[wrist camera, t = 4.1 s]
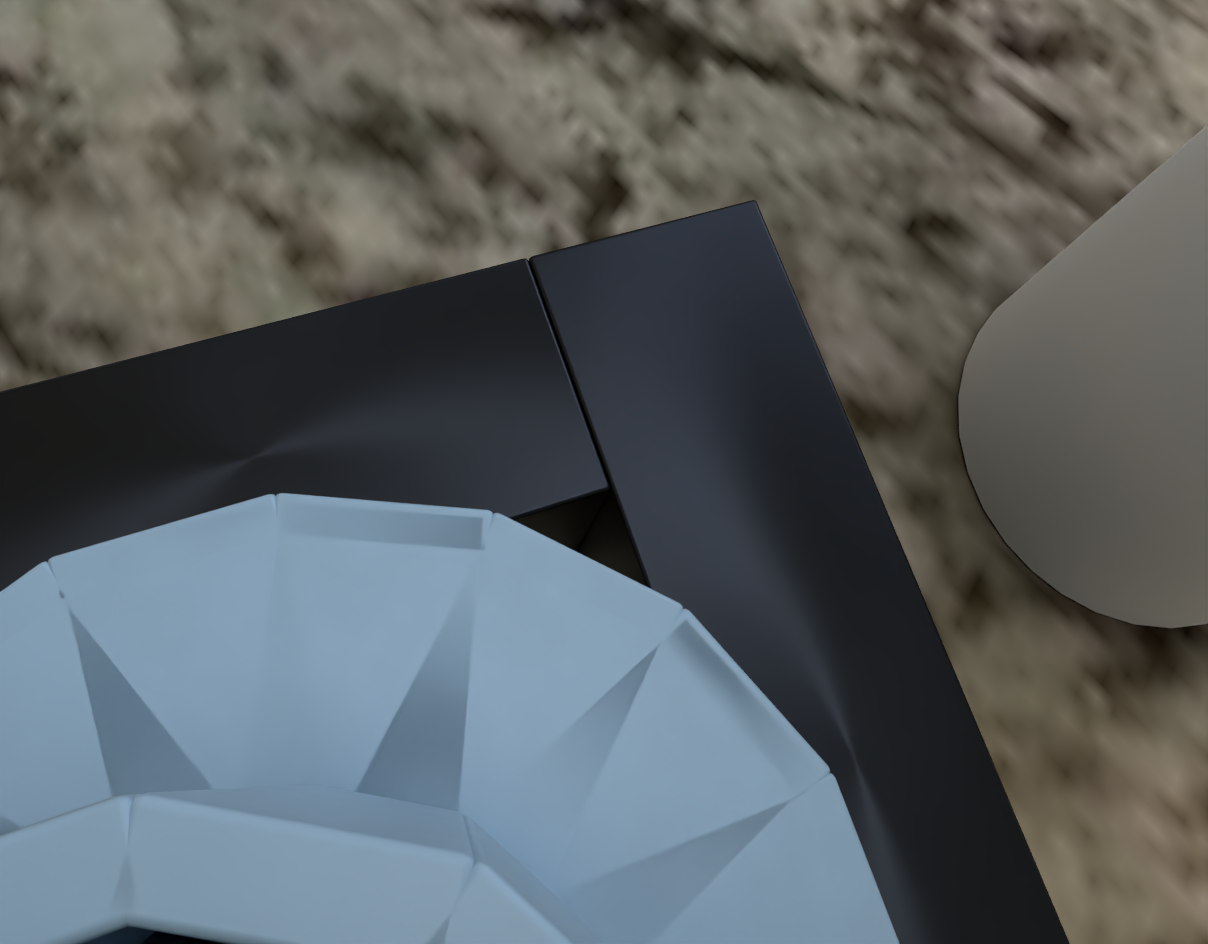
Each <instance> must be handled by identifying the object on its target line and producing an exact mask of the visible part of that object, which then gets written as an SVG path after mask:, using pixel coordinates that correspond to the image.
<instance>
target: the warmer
mask: <svg viewBox="0 0 1208 944" xmlns="http://www.w3.org/2000/svg"><path fill="white" fill-rule="evenodd" d="M280 493H288V494H300V495H312V496H324V497H336V498H348V499H361V500H373V501H385V502H397V503H409V504H421V505H433V506H445V507H457V508H469V509H481V510H489V511H491V512H492V513H493V514H494V513H500V514H502V515H504V516H506V517H508V518H510V519H512V520H514V521H516V522H518V523H520V524H522V525H524V526H526V527H528V528H530V529H532V530H534V531H536V532H538V533H540V534H542V535H544V536H546V537H548V538H550V539H552V540H554V541H556V542H558V543H560V544H562V545H564V546H566V547H568V548H570V549H572V550H574V551H576V552H578V553H580V554H582V555H584V556H586V557H588V558H590V559H592V560H594V561H596V562H598V563H600V564H602V565H604V566H606V567H608V568H610V569H612V570H614V571H616V572H618V573H620V574H622V575H624V576H626V577H628V578H630V579H632V580H634V581H636V582H638V583H640V584H642V585H644V586H646V587H648V588H650V589H652V590H654V591H656V592H658V593H660V594H662V595H664V596H666V597H668V598H670V599H672V600H674V601H676V602H678V603H680V604H681V605H682V606H683V609H687V610H689V611H690V612H691V613H692V614H693V615H694V616H695V617H696V619H697V620H698V621H699V622H700V623H701V624H702V625H703V626H704V628H705V629H706V630H707V631H708V632H709V633H710V634H711V635H712V636H713V638H714V639H715V640H716V641H717V642H718V643H719V644H720V645H721V647H722V648H723V649H724V650H725V651H726V652H727V653H728V654H729V656H730V657H731V658H732V659H733V660H734V661H735V662H736V663H737V664H738V666H739V667H740V668H741V669H742V670H743V671H744V672H745V673H746V675H747V676H748V677H749V678H750V679H751V680H752V681H753V682H754V684H755V685H756V686H757V687H758V688H759V689H760V690H761V691H762V692H763V694H764V695H765V696H766V697H767V698H768V699H769V700H770V701H771V703H772V704H773V705H774V706H775V707H776V708H777V709H778V710H779V711H780V713H781V714H782V715H783V716H784V717H785V718H786V719H787V720H788V722H789V723H790V724H791V725H792V726H793V727H794V728H795V729H796V731H797V732H798V733H799V734H800V735H801V736H802V737H803V738H804V739H805V741H806V742H807V743H808V744H809V745H810V746H811V747H812V748H813V750H814V751H815V752H816V753H817V754H818V755H819V756H820V757H821V759H822V760H823V761H824V762H825V763H826V764H827V765H828V767H829V769H830V772H829V773H832V774H833V775H834V776H835V778H836V781H837V784H838V786H839V789H840V791H841V794H842V796H843V799H844V802H845V804H846V807H847V809H848V812H849V815H850V817H851V820H852V822H853V825H854V827H855V830H856V833H857V835H858V838H859V840H860V843H861V845H862V848H863V851H864V853H865V856H866V858H867V861H868V864H869V866H870V869H871V871H872V874H873V876H874V879H875V882H876V884H877V887H878V889H879V892H880V895H881V897H882V900H883V902H884V905H885V907H886V910H887V913H888V915H889V918H890V920H891V923H892V926H893V928H894V931H895V933H896V936H897V938H898V941H899V944H1070V943H1069V941H1068V939H1067V936H1066V934H1065V932H1064V929H1063V927H1062V925H1061V922H1060V920H1059V917H1058V915H1057V913H1056V910H1055V908H1054V906H1053V903H1052V901H1051V898H1050V896H1049V894H1048V891H1047V889H1046V887H1045V884H1044V882H1043V880H1042V877H1041V875H1040V872H1039V870H1038V868H1037V865H1036V863H1035V861H1034V858H1033V856H1032V853H1031V851H1030V849H1029V846H1028V844H1027V842H1026V839H1025V837H1024V835H1023V832H1022V830H1021V827H1020V825H1019V823H1018V820H1017V818H1016V816H1015V813H1014V811H1013V808H1012V806H1011V804H1010V801H1009V799H1008V797H1007V794H1006V792H1005V790H1004V787H1003V785H1002V782H1001V780H1000V778H999V775H998V773H997V771H996V768H995V766H994V763H993V761H992V759H991V756H990V754H989V752H988V749H987V747H986V745H985V742H984V740H983V737H982V735H981V733H980V730H979V728H978V726H977V723H976V721H975V719H974V716H973V714H972V711H971V709H970V707H969V704H968V702H967V700H966V697H965V695H964V692H963V690H962V688H961V685H960V683H959V681H958V678H957V676H956V674H955V671H954V669H953V666H952V664H951V662H950V659H949V657H948V655H947V652H946V650H945V647H944V645H943V643H942V640H941V638H940V636H939V633H938V631H937V629H936V626H935V624H934V621H933V619H932V617H931V614H930V612H929V610H928V607H927V605H926V602H925V600H924V598H923V595H922V593H921V591H920V588H919V586H918V584H917V581H916V579H915V576H914V574H913V572H912V569H911V567H910V565H909V562H908V560H907V557H906V555H905V553H904V550H903V548H902V546H901V543H900V541H899V539H898V536H897V534H896V531H895V529H894V527H893V524H892V522H891V520H890V517H889V515H888V512H887V510H886V508H885V505H884V503H883V501H882V498H881V496H880V494H879V491H878V489H877V486H876V484H875V482H874V479H873V477H872V475H871V472H870V470H869V467H868V465H867V463H866V460H865V458H864V456H863V453H862V451H861V449H860V446H859V444H858V441H857V439H856V437H855V434H854V432H853V430H852V427H851V425H850V423H849V420H848V418H847V415H846V413H845V411H844V408H843V406H842V404H841V401H840V399H839V396H838V394H837V392H836V389H835V387H834V385H833V382H832V380H831V378H830V375H829V373H828V370H827V368H826V366H825V363H824V361H823V359H822V356H821V354H820V351H819V349H818V347H817V344H816V342H815V340H814V337H813V335H812V333H811V330H810V328H809V325H808V323H807V321H806V318H805V316H804V314H803V311H802V309H801V306H800V304H799V302H798V299H797V297H796V295H795V292H794V290H793V288H792V285H791V283H790V280H789V278H788V276H787V273H786V271H785V269H784V266H783V264H782V261H781V259H780V257H779V254H778V252H777V250H776V247H775V245H774V243H773V240H772V238H771V235H770V233H769V231H768V228H767V226H766V224H765V221H764V219H763V216H762V214H761V212H760V209H759V207H758V205H757V202H756V201H755V200H752V201H748V202H744V203H740V204H736V205H732V206H728V207H724V208H720V209H717V210H713V211H709V212H705V213H701V214H697V215H693V216H689V217H685V218H681V219H677V220H673V221H669V222H665V223H662V224H658V225H654V226H650V227H646V228H642V229H638V230H634V231H630V232H626V233H622V234H618V235H614V236H610V237H607V238H603V239H599V240H595V241H591V242H587V243H583V244H579V245H575V246H571V247H567V248H563V249H559V250H555V251H552V252H548V253H544V254H540V255H536V256H532V257H531V258H529V261H528V260H527V259H520V260H516V261H512V262H508V263H504V264H501V265H497V266H493V267H489V268H485V269H481V270H477V271H473V272H469V273H465V274H461V275H457V276H453V277H449V278H446V279H442V280H438V281H434V282H430V283H426V284H422V285H418V286H414V287H410V288H406V289H402V290H398V291H394V292H391V293H387V294H383V295H379V296H375V297H371V298H367V299H363V300H359V301H355V302H351V303H347V304H343V305H339V306H336V307H332V308H328V309H324V310H320V311H316V312H312V313H308V314H304V315H300V316H296V317H292V318H288V319H284V320H281V321H277V322H273V323H269V324H265V325H261V326H257V327H253V328H249V329H245V330H241V331H237V332H233V333H229V334H226V335H222V336H218V337H214V338H210V339H206V340H202V341H198V342H194V343H190V344H186V345H182V346H178V347H174V348H171V349H167V350H163V351H159V352H155V353H151V354H147V355H143V356H139V357H135V358H131V359H127V360H123V361H119V362H116V363H112V364H108V365H104V366H100V367H96V368H92V369H88V370H84V371H80V372H76V373H72V374H68V375H64V376H61V377H57V378H53V379H49V380H45V381H41V382H37V383H33V384H29V385H25V386H21V387H17V388H13V389H9V390H6V391H2V392H0V592H1V591H2V590H4V589H5V588H7V587H8V586H9V585H11V584H12V583H14V582H15V581H16V580H18V579H19V578H20V577H22V576H23V575H25V574H26V573H27V572H29V571H30V570H32V569H33V568H34V567H36V566H37V565H39V564H40V563H42V562H48V560H49V559H50V558H52V557H54V556H58V555H61V554H64V553H68V552H71V551H75V550H78V549H82V548H85V547H89V546H92V545H96V544H99V543H102V542H106V541H109V540H113V539H116V538H120V537H123V536H127V535H130V534H133V533H137V532H140V531H144V530H147V529H151V528H154V527H158V526H161V525H165V524H168V523H171V522H175V521H178V520H182V519H185V518H189V517H192V516H196V515H199V514H203V513H206V512H209V511H213V510H216V509H220V508H223V507H227V506H230V505H234V504H237V503H241V502H244V501H247V500H251V499H254V498H258V497H261V496H265V495H268V494H272V495H275V496H276V495H277V494H280Z"/></svg>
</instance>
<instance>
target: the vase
mask: <svg viewBox="0 0 1208 944" xmlns="http://www.w3.org/2000/svg"><path fill="white" fill-rule="evenodd" d="M829 772H830V769H829V767H828V765H827V764H826V763H825V762H824V761H823V760H822V759H821V757H820V756H819V755H818V754H817V753H816V752H815V751H814V750H813V748H812V747H811V746H810V745H809V744H808V743H807V742H806V741H805V739H804V738H803V737H802V736H801V735H800V734H799V733H798V732H797V731H796V729H795V728H794V727H793V726H792V725H791V724H790V723H789V722H788V720H787V719H786V718H785V717H784V716H783V715H782V714H781V713H780V711H779V710H778V709H777V708H776V707H775V706H774V705H773V704H772V703H771V701H770V700H769V699H768V698H767V697H766V696H765V695H764V694H763V692H762V691H761V690H760V689H759V688H758V687H757V686H756V685H755V684H754V682H753V681H752V680H751V679H750V678H749V677H748V676H747V675H746V673H745V672H744V671H743V670H742V669H741V668H740V667H739V666H738V664H737V663H736V662H735V661H734V660H733V659H732V658H731V657H730V656H729V654H728V653H727V652H726V651H725V650H724V649H723V648H722V647H721V645H720V644H719V643H718V642H717V641H716V640H715V639H714V638H713V636H712V635H711V634H710V633H709V632H708V631H707V630H706V629H705V628H704V626H703V625H702V624H701V623H700V622H699V621H698V620H697V619H696V617H695V616H694V615H693V614H692V613H691V612H690V611H689V610H687V609H683V606H682V605H681V604H680V603H678V602H676V601H674V600H672V599H670V598H668V597H666V596H664V595H662V594H660V593H658V592H656V591H654V590H652V589H650V588H648V587H646V586H644V585H642V584H640V583H638V582H636V581H634V580H632V579H630V578H628V577H626V576H624V575H622V574H620V573H618V572H616V571H614V570H612V569H610V568H608V567H606V566H604V565H602V564H600V563H598V562H596V561H594V560H592V559H590V558H588V557H586V556H584V555H582V554H580V553H578V552H576V551H574V550H572V549H570V548H568V547H566V546H564V545H562V544H560V543H558V542H556V541H554V540H552V539H550V538H548V537H546V536H544V535H542V534H540V533H538V532H536V531H534V530H532V529H530V528H528V527H526V526H524V525H522V524H520V523H518V522H516V521H514V520H512V519H510V518H508V517H506V516H504V515H502V514H500V513H494V514H493V513H492V512H491V511H489V510H481V509H469V508H457V507H445V506H433V505H421V504H409V503H397V502H385V501H373V500H361V499H348V498H336V497H324V496H312V495H300V494H288V493H280V494H277V495H276V496H275V495H272V494H268V495H265V496H261V497H258V498H254V499H251V500H247V501H244V502H241V503H237V504H234V505H230V506H227V507H223V508H220V509H216V510H213V511H209V512H206V513H203V514H199V515H196V516H192V517H189V518H185V519H182V520H178V521H175V522H171V523H168V524H165V525H161V526H158V527H154V528H151V529H147V530H144V531H140V532H137V533H133V534H130V535H127V536H123V537H120V538H116V539H113V540H109V541H106V542H102V543H99V544H96V545H92V546H89V547H85V548H82V549H78V550H75V551H71V552H68V553H64V554H61V555H58V556H54V557H52V558H50V559H49V560H48V562H42V563H40V564H39V565H37V566H36V567H34V568H33V569H32V570H30V571H29V572H27V573H26V574H25V575H23V576H22V577H20V578H19V579H18V580H16V581H15V582H14V583H12V584H11V585H9V586H8V587H7V588H5V589H4V590H2V591H1V592H0V944H899V941H898V938H897V936H896V933H895V931H894V928H893V926H892V923H891V920H890V918H889V915H888V913H887V910H886V907H885V905H884V902H883V900H882V897H881V895H880V892H879V889H878V887H877V884H876V882H875V879H874V876H873V874H872V871H871V869H870V866H869V864H868V861H867V858H866V856H865V853H864V851H863V848H862V845H861V843H860V840H859V838H858V835H857V833H856V830H855V827H854V825H853V822H852V820H851V817H850V815H849V812H848V809H847V807H846V804H845V802H844V799H843V796H842V794H841V791H840V789H839V786H838V784H837V781H836V778H835V776H834V775H833V774H832V773H829Z"/></svg>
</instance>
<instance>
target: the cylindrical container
mask: <svg viewBox="0 0 1208 944" xmlns="http://www.w3.org/2000/svg"><path fill="white" fill-rule="evenodd" d="M958 409H959V436H960V441H961V445H962V449H963V454H964V458H965V463H966V467H967V472H968V474H969V477H970V479H971V481H972V484H973V486H974V488H975V490H976V493H977V495H978V497H979V500H980V502H981V504H982V507H983V509H984V511H985V512H986V514H987V515H988V517H989V518H990V520H991V521H992V523H993V524H994V526H995V527H996V529H997V530H998V532H999V533H1000V535H1001V536H1002V538H1003V539H1004V541H1005V542H1006V544H1007V545H1008V546H1009V547H1010V548H1011V549H1012V550H1013V551H1014V552H1015V553H1016V554H1017V555H1018V556H1019V558H1020V559H1021V560H1022V561H1023V562H1024V563H1025V564H1026V565H1027V566H1028V567H1029V568H1030V569H1031V570H1032V571H1033V572H1034V573H1035V574H1037V575H1038V576H1039V577H1041V578H1042V579H1043V580H1044V581H1046V582H1047V583H1048V584H1049V585H1051V586H1052V587H1053V588H1055V589H1056V590H1057V591H1058V592H1060V593H1061V594H1063V595H1065V596H1066V597H1068V598H1070V599H1072V600H1074V601H1076V602H1078V603H1079V604H1081V605H1083V606H1085V607H1087V608H1089V609H1091V610H1092V611H1094V612H1096V613H1100V614H1103V615H1106V616H1109V617H1112V618H1115V619H1118V620H1121V621H1125V622H1128V623H1131V624H1136V625H1145V626H1155V627H1165V628H1178V627H1186V626H1194V625H1202V624H1208V125H1207V126H1205V127H1204V128H1203V129H1202V130H1201V131H1200V132H1198V133H1197V134H1196V135H1195V136H1194V137H1193V138H1192V139H1190V140H1189V141H1188V142H1187V143H1186V144H1185V145H1184V146H1182V147H1181V148H1180V149H1179V150H1178V151H1177V152H1175V153H1174V154H1173V155H1172V156H1171V157H1170V158H1169V159H1167V160H1166V161H1165V162H1164V163H1163V164H1162V165H1161V166H1159V167H1158V168H1157V169H1156V170H1155V171H1154V172H1152V173H1151V174H1150V175H1149V176H1148V177H1147V178H1146V179H1144V180H1143V181H1142V182H1141V183H1140V184H1139V185H1138V186H1136V187H1135V188H1134V189H1133V190H1132V191H1131V192H1129V193H1128V194H1127V195H1126V196H1125V197H1124V198H1123V199H1121V200H1120V201H1119V202H1118V203H1117V204H1116V205H1115V206H1113V207H1112V208H1111V209H1110V210H1109V211H1108V212H1107V213H1105V214H1104V215H1103V216H1102V217H1101V218H1100V219H1098V220H1097V221H1096V222H1095V223H1094V224H1093V225H1092V226H1090V227H1089V228H1088V229H1087V230H1086V231H1085V232H1084V233H1082V234H1081V235H1080V236H1079V237H1078V238H1077V239H1075V240H1074V241H1073V242H1072V243H1071V244H1070V245H1069V246H1067V247H1066V248H1065V249H1064V250H1063V251H1062V252H1061V253H1059V254H1058V255H1057V256H1056V257H1055V258H1054V259H1052V260H1051V261H1050V262H1049V263H1048V264H1047V265H1046V266H1044V267H1043V268H1042V269H1041V270H1040V271H1039V272H1038V273H1036V274H1035V275H1034V276H1033V277H1032V278H1031V279H1029V280H1028V281H1027V282H1026V283H1025V284H1024V285H1023V286H1021V287H1020V288H1019V289H1018V290H1017V291H1016V292H1015V293H1013V294H1012V295H1011V296H1010V297H1009V298H1008V299H1007V300H1005V301H1004V302H1003V303H1002V304H1001V305H1000V306H999V307H997V308H996V309H995V310H994V312H993V313H992V314H991V316H990V317H989V319H988V320H987V321H986V323H985V324H984V325H983V327H982V328H981V329H980V331H979V332H978V334H977V336H976V338H975V341H974V343H973V345H972V347H971V350H970V352H969V354H968V357H967V359H966V361H965V365H964V370H963V375H962V380H961V385H960V390H959V395H958Z"/></svg>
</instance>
